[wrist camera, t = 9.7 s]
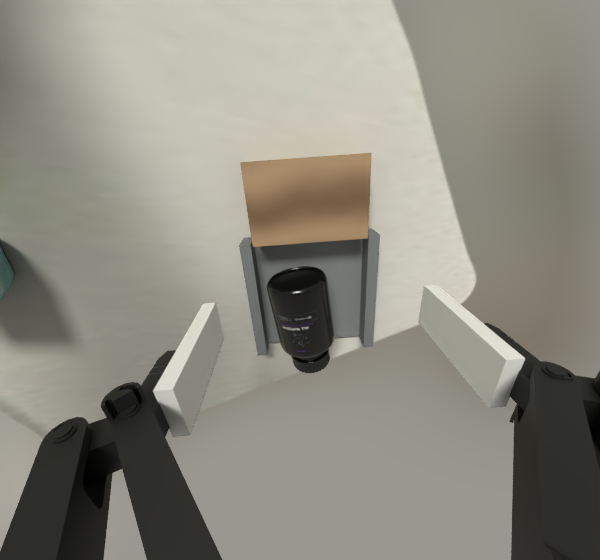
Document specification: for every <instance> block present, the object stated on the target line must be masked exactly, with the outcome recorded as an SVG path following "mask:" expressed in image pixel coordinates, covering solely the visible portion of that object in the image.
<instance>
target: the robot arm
mask: <svg viewBox="0 0 600 560" xmlns="http://www.w3.org/2000/svg"><path fill="white" fill-rule="evenodd" d="M418 322H419V323H420V325H421V326H422V327H423V328H424V329H425V331H426V332H427V333H428V334H429V335H430V337H431V338H432V339H433V340H434V342H435V343H436V344H437V345H438V346H439V348H440V349H441V350H442V351H443V352H444V354H445V355H446V356H447V357H448V359H449V360H450V361H451V362H452V363H453V365H454V366H455V367H456V368H457V370H458V371H459V372H460V373H461V374H462V376H463V377H464V378H465V379H466V381H467V382H468V383H469V384H470V385H471V387H472V388H473V389H474V390H475V392H476V393H477V394H478V395H479V397H480V398H481V399H482V400H483V401H484V403H485V404H486V405H487V406H488V407H489V408H493V407H503V406H506V405H507V402H508V400H509V398H510V397H511V398H512V399H513V400H514V401H515V402H516V403H517V405H516V407H515V410H514V412H513V415H512V417H511V420H510V422H512V423H513V421H514V459H513V505H512V506H513V507H512V508H513V509H512V550H511V560H600V371H599V373H598V375H597V376H596V378H588V377H580V376H575V375H574V374H573V373H571V372H570V371H569V370H567V369H565V368H564V367H562V366H559V365H557V364H554V363H550V362H541V361H539V360H538V359H537V358H536V357H534V356H533V355H532V354H530V353H529V352H528V351H527V350H525V349H524V348H523V347H522V346H520V345H519V344H518V343H516V342H515V341H514V340H513V339H511V338H510V337H508V336H507V335H506V334H505V333H504V332H503V331H501V330H500V329H499V328H496V327H495V326H492V325H491V324H488V323H484V324H483V323H482V322H481V321H479V320H478V319H477V318H476V317H475V316H473V315H472V314H471V313H470V312H469V311H467V310H466V309H465V308H464V307H463V306H461V305H460V304H459V303H458V302H457V301H455V300H454V299H453V298H452V297H451V296H449V295H448V294H447V293H446V292H445V291H443V290H442V289H441V288H440V287H439V286H437V285H424V289H423V296H422V302H421V308H420V314H419V321H418ZM223 340H224V336H223V331H222V327H221V323H220V319H219V315H218V311H217V306H216V303H205V304H203V305H202V307H201V308H200V310H199V312H198V314H197V315H196V317H195V319H194V320H193V322H192V324H191V326H190V327H189V329H188V331H187V333H186V334H185V336H184V338H183V340H182V341H181V343H180V345H179V347H178V348H177V350H174V351H167V352H166V353H164V354H163V355H162V356H161V357H160V358H159V359H158V360H157V362H156V364H155V365H154V368H152V370H151V371H150V373H149V375H148V376H147V378H146V379H145V381H144V382H143V384H142V385H140V384H138V383H134V382H132V383H126V384H123V385H121V386H118V387H117V388H115V389H114V390H112V391H111V392H110V393H108V394H107V395H106V396H105V398H104V399H103V401H102V403H101V408H102V410H103V411H104V413H105V415H106V417H107V418H105V419H102V420H99V421H96V422H93V423H90V424H88V422H87V420H86V419H84V418H83V417H76V418H72V419H69V420H67V421H65V422H63V423H61V424H59V425H58V426H56V427H55V428H54V429H52V430H51V431H50V432H49V433H48V434H47V435H46V436H45V438H44V439H43V441H42V443H41V445H40V448H39V451H38V453H37V456H36V458H35V461H34V464H33V466H32V469H31V472H30V474H29V477H28V480H27V482H26V485H25V487H24V490H23V493H22V495H21V498H20V501H19V503H18V506H17V508H16V511H15V514H14V517H13V519H12V522H11V524H10V527H9V530H8V532H7V535H6V538H5V540H4V543H3V546H2V548H1V551H0V560H103V557H104V548H105V539H106V529H107V520H108V510H109V501H110V491H111V481H112V473H113V472H115V471H118V470H120V469H123V473H124V477H125V480H126V484H127V487H128V491H129V495H130V499H131V502H132V506H133V510H134V513H135V517H136V521H137V525H138V528H139V532H140V536H141V539H142V543H143V547H144V551H145V554H146V557H147V560H222V558H221V556H220V554H219V552H218V550H217V547H216V545H215V543H214V541H213V539H212V537H211V535H210V533H209V530H208V528H207V526H206V524H205V522H204V520H203V518H202V515H201V513H200V511H199V509H198V507H197V505H196V503H195V500H194V499H193V496H192V494H191V492H190V490H189V488H188V486H187V483H186V481H185V479H184V477H183V475H182V473H181V471H180V468H179V466H178V464H177V462H176V460H175V458H174V456H173V454H172V451H171V449H170V447H169V445H168V443H167V441H166V439H165V436H166V434H167V431H168V429H170V431H171V434H172V436H173V437H174V436H186V435H191V432H192V429H193V427H194V424H195V421H196V418H197V415H198V412H199V409H200V406H201V403H202V401H203V398H204V395H205V392H206V389H207V386H208V383H209V380H210V378H211V375H212V372H213V369H214V366H215V363H216V360H217V357H218V354H219V352H220V349H221V346H222V343H223Z"/></svg>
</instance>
